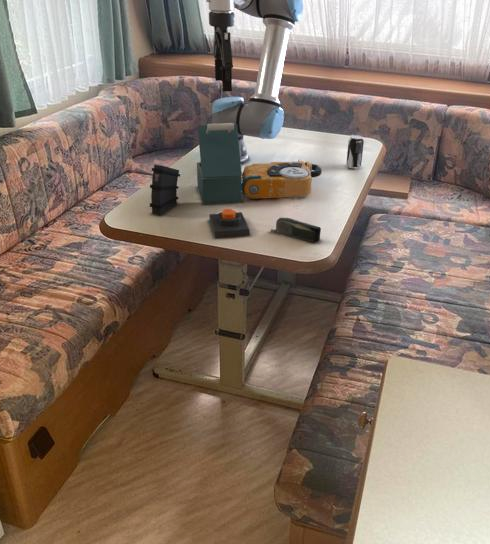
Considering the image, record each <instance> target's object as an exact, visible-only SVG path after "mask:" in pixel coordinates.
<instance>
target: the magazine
mask: <svg viewBox="0 0 490 544" xmlns="http://www.w3.org/2000/svg"><path fill="white" fill-rule="evenodd" d="M151 171H152V177H151V179H152V180H151V184H150V185H149V188H150V189H151V195H150V197H151V199H150V200H151V202H150V203H149V208H151V215H154V216H160V217H161V216H162V215H164V214H165V213H166V212H168V211H169V210H171V209H172V208H173V207H175V206H176V205H177V204H178V200H179V196H177V195H178V194H177V192H178V191H177V190H178V189H179V188H180V186H178V179H179V178H180V177H181V173H180V169H177V168H173V167H169V166H165V165H161V164H154V165H153V167H152V168H151Z"/></svg>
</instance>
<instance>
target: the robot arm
mask: <svg viewBox="0 0 490 544" xmlns="http://www.w3.org/2000/svg"><path fill="white" fill-rule="evenodd" d="M206 3H208V10H209V12H208V24H209V26H210V27H213V29H214V32H213V52H212V54H213V57H214V79H215V80H214V81H216V82H220V81H221V82H222V83H221V84H222V85H221V86H222V92H223V93H224V92H232V91H233V79H232V78H233V75H232V72H233V71H232V69H233V68H234V63H233V54H232V42H231V41H232V40H231V37H232V36H231V32H229V31H228V28H232V27H234V26H235V23H236V21H235V12H234V11H235V9H236V10H237V11H240V12H241V13H244V14H246V15H249V16H251V17H253V18H254V17H255V18H259V19H262V23H263V25H264V26H265V30H264V36H263V41H262V47H261V52H260V59H259V65H258V71H257V77H256V78H257V79H256V82H255V89H254V93H253V94H252V95H251V96H250V97H249V99H248V103H245V100H244V98H243V97H241V96H226V97H221V98H217V99H216V100H214V101H213V103H212V108H211V109H212V110H211V114H212V115H211V116H212V124H223V123H234V125H236V124H237V129H238V140H239V150H240V160H241V164H244V163H246V162H247V161H248V160H249V152H248V147H247V144H246V143H245V140H244V136H245V137H251V138H258V139H262V140H264V139H266V140H273V139H276V137H278V135H279V134H280V132H281V131H282V128H283V125H284V121H285V112H284V111H285V110H284V109H283V108H282V107H281V106H282V105H281V102H280V100H279V92H280V87H281V82H282V81H281V80H282V75H283V69H284V63H285V57H286V52H287V46H288V41H289V34H290V32H291V31H292V30H293V29H294V28H295V26H296V25H295V24H296V23H298V22H300V21H301V20H302V17H303V13H304V2H303V0H206Z"/></svg>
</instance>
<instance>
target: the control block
mask: <svg viewBox="0 0 490 544" xmlns="http://www.w3.org/2000/svg"><path fill="white" fill-rule="evenodd" d="M235 212H236V217H235V218H234V219H224V218H222V211H221V212H219V213H209V215H208V217H209V219H208V220H209V223H210V224H209V225H210V227H211V230H212V233H213V235H214V239H223V238H236V237H237V238H238V237H248V236H250V228H249V226H248V223H247V221H246V219H245V216H244V214H243V212H242V211H238V212H237V211H235Z"/></svg>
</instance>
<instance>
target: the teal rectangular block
mask: <svg viewBox="0 0 490 544" xmlns="http://www.w3.org/2000/svg"><path fill="white" fill-rule="evenodd" d="M196 179H197V181H196V182H197V189H198V193H199V195H200V199H201V202H202V205H203V206H206V205H220V204H222V205H223V204H236V203H242V202H243V197H242V196H243V192H242V176H232V177H214V178H202V169H201V161H200V162H196Z"/></svg>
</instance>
